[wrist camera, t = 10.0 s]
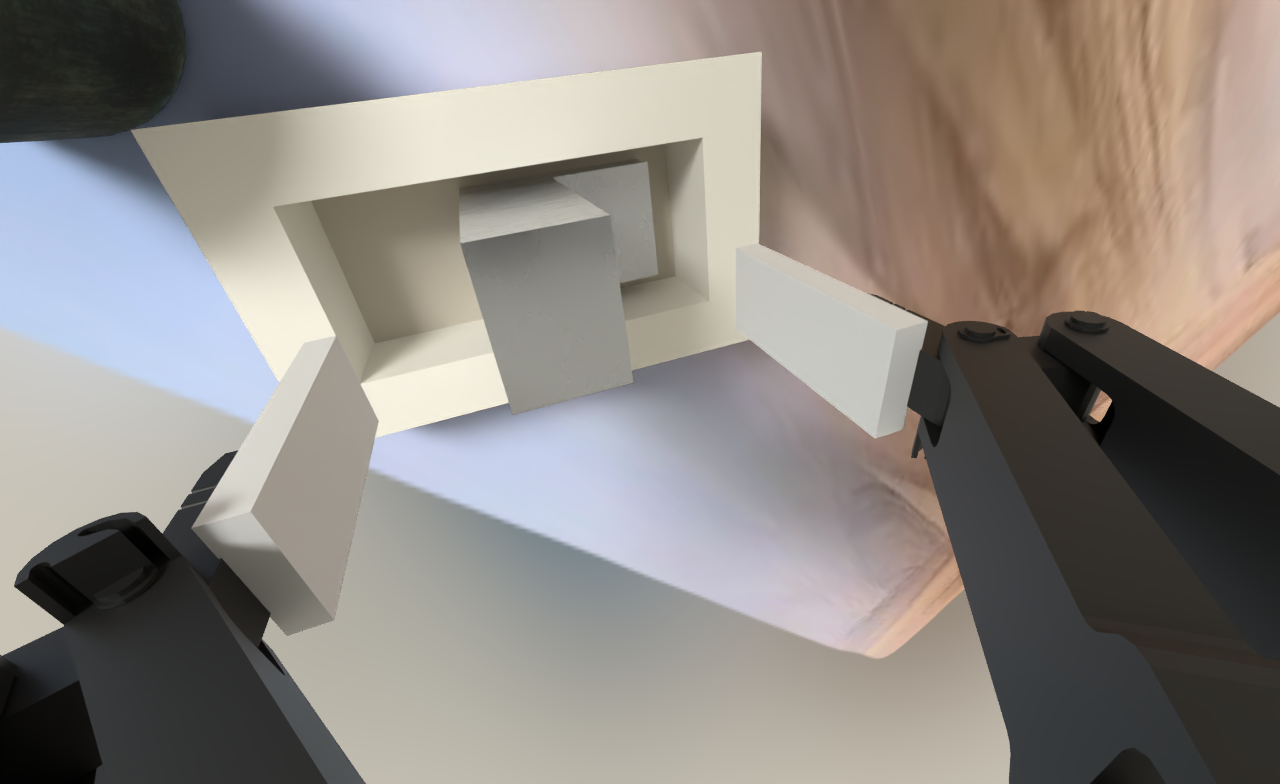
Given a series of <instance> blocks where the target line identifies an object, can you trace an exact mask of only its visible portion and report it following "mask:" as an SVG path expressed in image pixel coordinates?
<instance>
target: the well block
mask: <svg viewBox="0 0 1280 784" xmlns="http://www.w3.org/2000/svg"><path fill="white" fill-rule="evenodd" d="M761 68H762V52H754V53H746V54H738V55H730V56H722V57H714V58H706V59H698V60H690V61H682V62H674V63H666V64H658V65H650V66H641V67H633V68H625V69H617V70H609V71H601V72H593V73H585V74H577V75H569V76H561V77H553V78H545V79H537V80H529V81H521V82H513V83H504V84H496V85H488V86H480V87H472V88H464V89H456V90H448V91H440V92H432V93H424V94H416V95H408V96H400V97H392V98H384V99H376V100H367V101H359V102H351V103H343V104H335V105H327V106H319V107H311V108H303V109H295V110H287V111H279V112H271V113H263V114H255V115H247V116H239V117H231V118H222V119H214V120H206V121H198V122H190V123H182V124H174V125H166V126H158V127H150V128H142V129H134V130H131V132H132V134H133V136H134V137H135V139H136V141H137V142H138V144H139V146H140V147H141V149H142V151H143V153H144V154H145V156H146V158H147V159H148V161H149V163H150V164H151V166H152V168H153V169H154V171H155V173H156V175H157V176H158V178H159V180H160V181H161V183H162V185H163V186H164V188H165V190H166V192H167V193H168V195H169V197H170V198H171V200H172V202H173V203H174V205H175V207H176V208H177V210H178V212H179V214H180V215H181V217H182V219H183V220H184V222H185V224H186V225H187V227H188V229H189V231H190V232H191V234H192V236H193V237H194V239H195V241H196V242H197V244H198V246H199V248H200V249H201V251H202V253H203V254H204V256H205V258H206V259H207V261H208V263H209V264H210V266H211V268H212V270H213V271H214V273H215V275H216V276H217V278H218V280H219V281H220V283H221V285H222V287H223V288H224V290H225V292H226V293H227V295H228V297H229V298H230V300H231V302H232V304H233V305H234V307H235V309H236V310H237V312H238V314H239V315H240V317H241V319H242V320H243V322H244V324H245V326H246V327H247V329H248V331H249V332H250V334H251V336H252V337H253V339H254V341H255V343H256V344H257V346H258V348H259V349H260V351H261V353H262V354H263V356H264V358H265V359H266V361H267V363H268V365H269V366H270V368H271V370H272V371H273V373H274V375H275V376H276V378H277V380H278V382H279V383H280V381H281V380H282V378H283V376H284V375H285V373H286V371H287V370H288V368H289V367H290V365H291V363H292V362H293V360H294V358H295V357H296V355H297V353H298V352H299V350H300V348H301V347H302V345H303V344H304V343H305V342H309V341H314V340H318V339H323V338H327V337H332V336H337V338H338V340H339V342H340V344H341V346H342V348H343V350H344V352H345V354H346V356H347V358H348V360H349V362H350V364H351V366H352V368H353V370H354V372H355V374H356V376H357V378H358V380H359V382H360V384H361V386H362V388H363V390H364V392H365V394H366V396H367V398H368V400H369V402H370V404H371V406H372V408H373V410H374V412H375V414H376V416H377V418H378V420H379V422H378V427H377V431H376V436H375V438H376V437H380V436H384V435H388V434H392V433H395V432H399V431H403V430H407V429H411V428H415V427H418V426H422V425H426V424H430V423H434V422H437V421H441V420H445V419H449V418H453V417H457V416H460V415H464V414H468V413H472V412H476V411H480V410H483V409H487V408H491V407H495V406H499V405H502V404H506V403H509V401H508V398H507V395H506V392H505V388H504V385H503V382H502V379H501V375H500V372H499V369H498V366H497V362H496V359H495V356H494V353H493V349H492V346H491V343H490V340H489V336H488V333H487V330H486V327H485V323H484V320H483V317H482V314H481V310H480V307H479V304H478V301H477V297H476V294H475V291H474V287H473V284H472V281H471V278H470V274H469V271H468V268H467V265H466V261H465V258H464V255H463V252H462V248H461V245H460V218H459V188H462V187H468V186H474V185H481V184H487V183H493V182H499V181H505V180H511V179H517V178H523V177H529V176H535V175H541V174H547V173H553V172H559V171H565V170H571V169H577V168H583V167H589V166H595V165H601V164H607V163H613V162H619V161H625V160H631V159H638V160H643V161H647V163H648V173H649V184H650V194H651V204H652V215H653V225H654V235H655V245H656V256H657V266H658V275H655V276H650V277H646V278H641V279H637V280H632V281H627V282H623V283H620V289H621V296H622V303H623V310H624V318H625V325H626V332H627V339H628V346H629V353H630V360H631V367H632V370H636V369H640V368H644V367H648V366H651V365H655V364H659V363H663V362H667V361H670V360H674V359H678V358H682V357H686V356H690V355H693V354H697V353H701V352H705V351H709V350H712V349H716V348H720V347H724V346H728V345H732V344H735V343H739V342H743V341H747V340H750V339H748V338H747V337H746V336H744V335H743V334H742V333H741V332H739V331H738V330H737V329H736V248H739V247H744V246H748V245H753V244H757V243H758V244H759V211H760V140H761Z"/></svg>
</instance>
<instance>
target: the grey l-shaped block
mask: <svg viewBox="0 0 1280 784" xmlns="http://www.w3.org/2000/svg"><path fill="white" fill-rule="evenodd" d="M459 218H460V245H461V248H462V252H463V255H464V258H465V261H466V265H467V268H468V271H469V274H470V278H471V281H472V284H473V287H474V291H475V294H476V297H477V301H478V304H479V307H480V310H481V314H482V317H483V320H484V323H485V327H486V330H487V333H488V336H489V340H490V343H491V346H492V349H493V353H494V356H495V359H496V362H497V366H498V369H499V372H500V375H501V379H502V382H503V385H504V388H505V392H506V395H507V398H508V401H509V405H510V408H511V411H512V414H513V415H514V414H518V413H522V412H525V411H529V410H533V409H536V408H540V407H544V406H548V405H551V404H555V403H559V402H563V401H566V400H570V399H574V398H578V397H581V396H585V395H589V394H593V393H596V392H600V391H604V390H608V389H611V388H615V387H619V386H623V385H626V384H630V383H634V381H633V374H632V367H631V360H630V353H629V346H628V339H627V332H626V325H625V318H624V310H623V303H622V296H621V289H620V283H623V282H627V281H632V280H637V279H641V278H646V277H650V276H655V275H658V266H657V256H656V245H655V235H654V225H653V215H652V204H651V194H650V184H649V173H648V163H647V161H643V160H638V159H631V160H625V161H619V162H613V163H607V164H601V165H595V166H589V167H583V168H577V169H571V170H565V171H559V172H553V173H547V174H541V175H535V176H529V177H523V178H517V179H511V180H505V181H499V182H493V183H487V184H481V185H474V186H468V187H462V188H459Z"/></svg>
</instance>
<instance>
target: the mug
mask: <svg viewBox="0 0 1280 784" xmlns="http://www.w3.org/2000/svg"><path fill="white" fill-rule="evenodd" d="M184 61H185V33H184V28H183V22H182V17H181V12H180V8H179V5H178V3H177V0H0V143H9V142H26V141H43V140H60V139H78V138H91V137H101V136H110V135H114V134H117V133H121V132H124V131H128V130H131V129H133V128H135V127H137V126H139V125H141V124H143V123H145V122H147V121H149V120H150V119H151V118H153V117H154V116H155V115H156V114H157V113H159V112H160V111H161V110H162V109H163V108H164V107H165V106H166V104H167V103H168V102H169V100H170V99H171V98H172V96H173V95H174V93H175V91H176V89H177V86H178V84H179V82H180V79H181V77H182V72H183V66H184Z"/></svg>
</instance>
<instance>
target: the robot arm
mask: <svg viewBox="0 0 1280 784" xmlns="http://www.w3.org/2000/svg"><path fill="white" fill-rule="evenodd" d="M736 329H737V330H738V331H739V332H741V333H742V334H743V335H744V336H746V337H747V338H748V339H750V340H751V341H752V342H753V343H755V344H756V345H757V346H758V347H760V348H761V349H762V350H763V351H765V352H766V353H767V354H768V355H770V356H771V357H772V358H774V359H775V360H776V361H777V362H779V363H780V364H781V365H782V366H784V367H785V368H786V369H787V370H789V371H790V372H791V373H792V374H794V375H795V376H796V377H798V378H799V379H800V380H801V381H803V382H804V383H805V384H806V385H808V386H809V387H810V388H811V389H813V390H814V391H815V392H817V393H818V394H819V395H820V396H822V397H823V398H824V399H825V400H827V401H828V402H829V403H830V404H832V405H833V406H834V407H835V408H837V409H838V410H839V411H841V412H842V413H843V414H844V415H846V416H847V417H848V418H849V419H851V420H852V421H853V422H854V423H856V424H857V425H858V426H859V427H861V428H862V429H863V430H865V431H866V432H867V433H868V434H870V435H871V436H872V437H873V438H875V439H876V438H879V437H882V436H885V435H888V434H891V433H894V432H897V431H900V430H903V427H904V422H905V418H906V414H907V410H908V407H909V408H910V409H912V410H914V411H915V412H917V413H918V414H920V415H921V417H920V421H919V425H918V429H917V433H916V437H915V441H914V445H913V449H912V456H911V458H917V455H918V451H920V450H921V449H922V448H923V450H924V454H925V457H924V458H925V459H926V460H927V464H928V467H929V470H930V474H931V477H932V480H933V484H934V487H935V490H936V494H937V497H938V501H939V504H940V507H941V511H942V514H943V517H944V521H945V524H946V527H947V531H948V534H949V537H950V541H951V544H952V547H953V551H954V554H955V558H956V561H957V564H958V568H959V571H960V574H961V578H962V581H963V584H964V588H965V591H966V594H967V598H968V601H969V604H970V608H971V611H972V615H973V618H974V621H975V625H976V628H977V631H978V635H979V638H980V641H981V645H982V648H983V651H984V655H985V658H986V661H987V665H988V668H989V672H990V675H991V678H992V681H993V685H994V688H995V692H996V695H997V698H998V702H999V705H1000V709H1001V712H1002V715H1003V719H1004V722H1005V725H1006V729H1007V732H1008V737H1009V741H1010V752H1011V757H1010V772H1009V784H1280V408H1279V407H1277V406H1276V405H1273V404H1272V403H1270V402H1268V401H1266V400H1264V399H1262V398H1261V397H1259V396H1257V395H1255V394H1253V393H1251V392H1249V391H1248V390H1246V389H1244V388H1242V387H1240V386H1238V385H1236V384H1235V383H1233V382H1231V381H1229V380H1227V379H1225V378H1223V377H1221V376H1220V375H1218V374H1216V373H1214V372H1212V371H1210V370H1209V369H1207V368H1205V367H1203V366H1201V365H1199V364H1197V363H1196V362H1194V361H1192V360H1190V359H1188V358H1186V357H1184V356H1182V355H1181V354H1179V353H1177V352H1175V351H1173V350H1171V349H1169V348H1168V347H1166V346H1164V345H1162V344H1160V343H1158V342H1156V341H1155V340H1153V339H1151V338H1149V337H1147V336H1145V335H1143V334H1142V333H1140V332H1138V331H1136V330H1134V329H1132V328H1130V327H1129V326H1127V325H1125V324H1123V323H1121V322H1119V321H1116V320H1114V319H1111V318H1109V317H1105V316H1101V315H1099V314H1097V313H1094V312H1088V311H1087V312H1085V311H1074V312H1060V313H1054V314H1051V315H1050V316H1048V317H1046V320H1045V323H1044V325H1043V328H1042V331H1041V333H1040V336H1031V337H1019V338H1018V337H1017V336H1016V335H1015V334H1014V333H1012V332H1011V331H1010V330H1008V329H1006V328H1005V327H1001V326H998V325H995V324H990V323H986V322H977V321H961V322H955V323H951V324H948V325H947V326H946V327H945V326H943V325H941V324H939V323H937V322H934V321H932V320H930V319H928V318H926V317H923V316H921V315H919V314H917V313H915V312H912V311H910V310H905V308H903V307H901V306H899V305H897V304H893V303H892V302H890V301H888V300H886V299H884V298H881V297H879V296H877V295H873V294H868V293H865V292H863V291H861V290H859V289H857V288H854V287H852V286H850V285H848V284H846V283H843V282H841V281H839V280H837V279H835V278H832V277H830V276H828V275H826V274H824V273H822V272H819V271H817V270H815V269H813V268H811V267H808V266H806V265H804V264H802V263H800V262H798V261H795V260H793V259H791V258H789V257H787V256H784V255H782V254H780V253H778V252H776V251H773V250H771V249H769V248H767V247H765V246H763V245H760V244H758V243H757V244H753V245H748V246H744V247H739V248H736ZM1101 390H1102V391H1103V392H1105V393H1106V394H1107V395H1108V396H1109V397H1110V398H1111V399H1112V403H1111V405H1110V407H1109V409H1108V411H1107V412H1106V414H1105V416H1104V418H1103V419H1102V421H1101V422H1098V421H1096V420H1095V419H1094V418H1092V417H1091V416H1090V415H1089V414H1090V412H1091V410H1092V408H1093V406H1094V404H1095V402H1096V399H1097V397H1098V395H1099V393H1100V391H1101ZM378 422H379V420H378V418H377V416H376V414H375V412H374V410H373V408H372V406H371V404H370V402H369V400H368V398H367V396H366V394H365V392H364V390H363V388H362V386H361V384H360V382H359V380H358V378H357V376H356V374H355V372H354V370H353V368H352V366H351V364H350V362H349V360H348V358H347V356H346V354H345V352H344V350H343V348H342V346H341V344H340V342H339V340H338V338H337V336H332V337H327V338H323V339H318V340H314V341H309V342H305V343H304V344H303V345H302V347H301V348H300V350H299V352H298V353H297V355H296V357H295V358H294V360H293V362H292V363H291V365H290V367H289V368H288V370H287V371H286V373H285V375H284V376H283V378H282V380H281V381H280V383H279V385H278V386H277V388H276V390H275V391H274V393H273V394H272V396H271V398H270V399H269V401H268V403H267V404H266V406H265V408H264V409H263V411H262V413H261V414H260V416H259V418H258V419H257V421H256V422H255V424H254V426H253V428H252V429H251V431H250V432H249V434H248V436H247V437H246V439H245V441H244V442H243V444H242V446H241V447H240V449H239V450H238V451H234V452H230V453H226V454H224V455H223V456H222V457H221V458H220V459H219V460H217V461H216V462H215V463H214V464H213V465H212V466H210V467H209V468H208V469H207V470H206V471H204V472H203V474H202V475H201V477H200V478H199V480H198V481H197V483H196V484H195V486H194V487H193V489H192V490H191V491H192V494H189V495H188V496H187V498H186V499H185V501H184V502H183V504H182V505H181V507H182V509H181V510H178V511H177V513H176V514H175V516H174V517H173V519H172V520H171V522H170V523H169V525H168V526H167V528H166V529H165V531H164V532H163V534H162V533H161V532H160V531H159V530H158V529H157V528H156V527H155V526H154V525H153V524H152V522H151V521H150V520H149V519H148V518H147V517H146V516H144V515H142V514H140V513H138V512H129V513H119V514H116V515H112V516H109V517H105V518H101V519H99V520H97V521H94V522H92V523H89V524H87V525H85V526H83V527H80V528H78V529H76V530H74V531H72V532H70V533H69V534H67V535H65V536H63V537H62V538H60V539H58V540H57V541H55V542H53V543H52V544H50V545H49V546H48V547H46V548H45V549H44V550H43V551H41V552H40V553H38V554H37V555H36V556H34V557H33V558H32V559H31V560H30V561H29V562H28V563H27V564H26V565H25V567H24V568H23V569H22V570H21V571H20V572H19V573H18V575H17V578H16V581H15V585H14V587H15V588H17V589H18V590H19V591H21V592H22V593H23V594H25V595H26V596H27V597H29V598H30V599H31V600H32V601H34V602H35V603H36V604H38V605H39V606H40V607H42V608H43V609H44V610H45V611H47V612H48V613H49V614H51V615H52V616H53V617H55V618H56V619H57V620H58V621H60V622H61V623H62V624H64V627H62V628H60V629H58V630H56V631H53V632H51V633H49V634H47V635H45V636H43V637H41V638H39V639H37V640H35V641H33V642H31V643H28V644H26V645H24V646H22V647H20V648H18V649H16V650H14V651H11V652H9V653H7V654H5V655H3V656H1V655H0V784H366V783H365V782H364V781H363V779H362V778H361V776H360V775H359V773H358V772H357V771H356V769H355V768H354V766H353V765H352V764H351V762H350V761H349V759H348V758H347V756H346V755H345V753H344V752H343V751H342V749H341V748H340V746H339V745H338V743H337V742H336V740H335V739H334V738H333V736H332V735H331V733H330V732H329V730H328V729H327V728H326V727H325V725H324V723H323V722H322V720H321V719H320V718H319V716H318V715H317V713H316V712H315V710H314V709H313V707H312V706H311V705H310V703H309V702H308V700H307V699H306V697H305V696H304V695H303V693H302V692H301V691H300V689H299V688H298V686H297V685H296V683H295V682H294V681H293V679H292V677H291V676H290V675H289V673H288V672H287V670H286V669H285V667H284V666H283V664H282V663H281V662H280V660H279V659H278V657H277V656H276V655H275V653H274V652H273V650H272V649H271V648H270V647H269V646H268V645H267V644H266V643H265V642H264V641H263V640H262V637H263V633H264V631H265V628H266V625H267V622H268V620H269V617H271V618H272V620H273V621H274V622H275V623H276V624H277V625H278V626H279V627H280V629H282V631H283V632H284V633H285V634H286V635H287V636H288V635H291V634H294V633H297V632H300V631H303V630H306V629H309V628H312V627H315V626H318V625H321V624H324V623H327V622H330V621H333V620H334V619H335V614H336V610H337V605H338V601H339V596H340V592H341V587H342V583H343V578H344V574H345V570H346V565H347V561H348V556H349V552H350V547H351V543H352V538H353V534H354V529H355V525H356V520H357V516H358V511H359V507H360V503H361V498H362V494H363V489H364V485H365V480H366V476H367V471H368V467H369V462H370V458H371V453H372V449H373V445H374V440H375V436H376V431H377V427H378Z"/></svg>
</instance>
